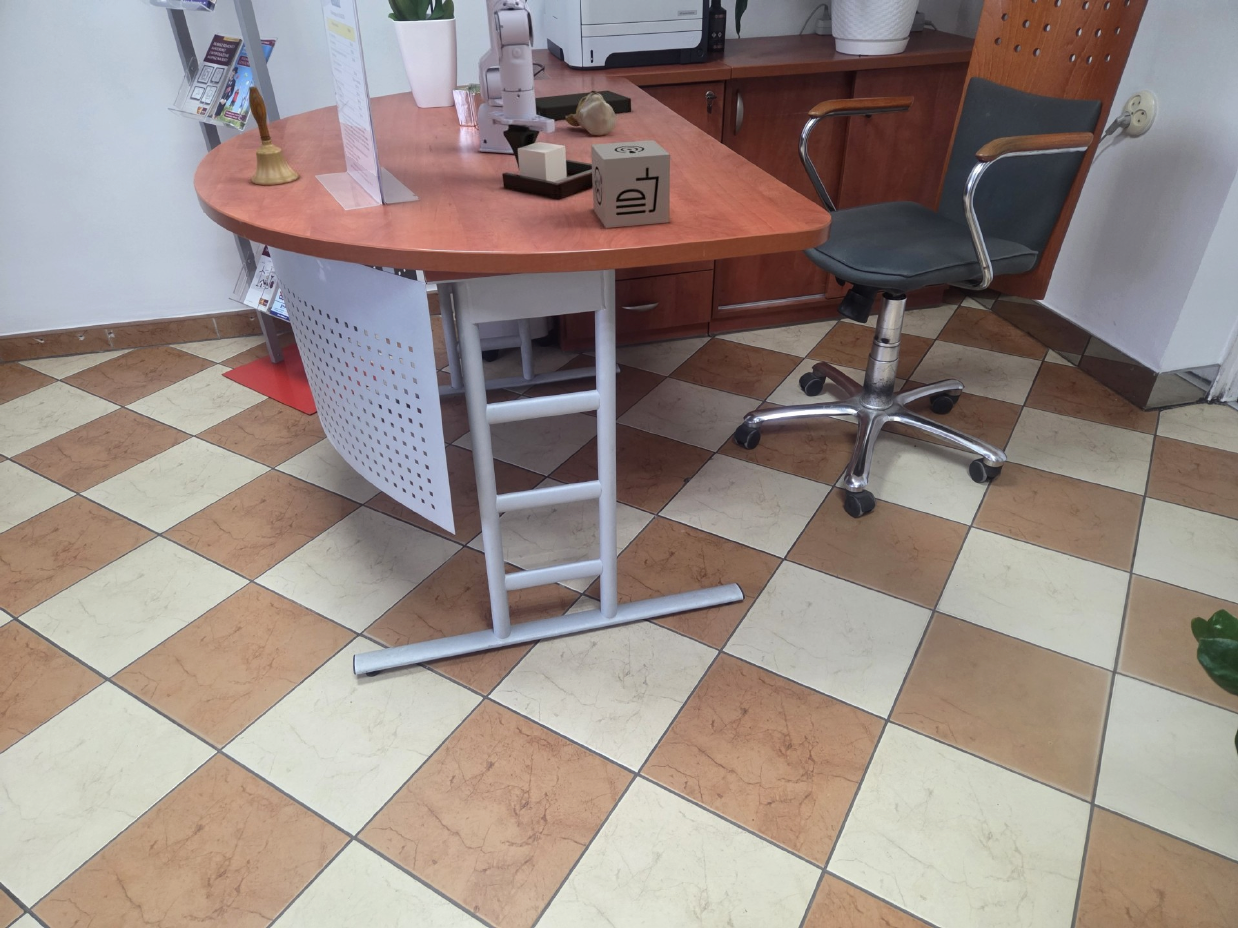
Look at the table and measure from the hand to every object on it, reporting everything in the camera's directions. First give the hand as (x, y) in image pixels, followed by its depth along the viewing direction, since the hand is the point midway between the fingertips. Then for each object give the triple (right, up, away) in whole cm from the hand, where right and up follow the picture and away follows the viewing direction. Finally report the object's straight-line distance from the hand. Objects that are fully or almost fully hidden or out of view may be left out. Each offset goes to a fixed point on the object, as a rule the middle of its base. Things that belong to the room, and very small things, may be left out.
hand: (524, 170), depth 146 cm
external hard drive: (+7, +34, +53) cm, 63 cm away
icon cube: (+19, -15, -19) cm, 31 cm away
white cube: (+4, -3, -1) cm, 5 cm away
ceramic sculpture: (+12, +21, +34) cm, 41 cm away
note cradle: (+6, -4, -3) cm, 7 cm away
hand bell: (-47, 0, +4) cm, 48 cm away
